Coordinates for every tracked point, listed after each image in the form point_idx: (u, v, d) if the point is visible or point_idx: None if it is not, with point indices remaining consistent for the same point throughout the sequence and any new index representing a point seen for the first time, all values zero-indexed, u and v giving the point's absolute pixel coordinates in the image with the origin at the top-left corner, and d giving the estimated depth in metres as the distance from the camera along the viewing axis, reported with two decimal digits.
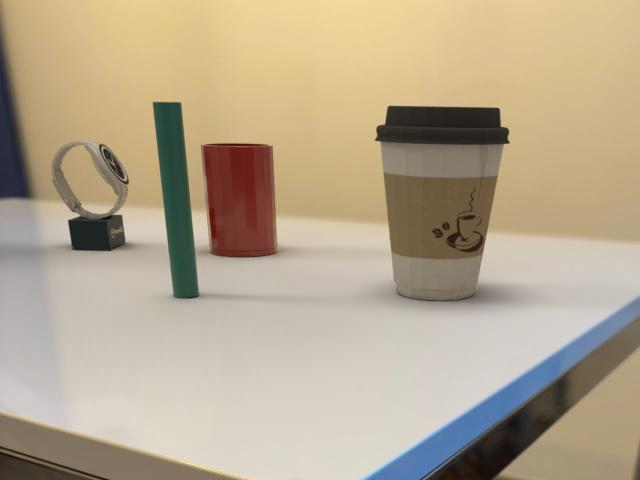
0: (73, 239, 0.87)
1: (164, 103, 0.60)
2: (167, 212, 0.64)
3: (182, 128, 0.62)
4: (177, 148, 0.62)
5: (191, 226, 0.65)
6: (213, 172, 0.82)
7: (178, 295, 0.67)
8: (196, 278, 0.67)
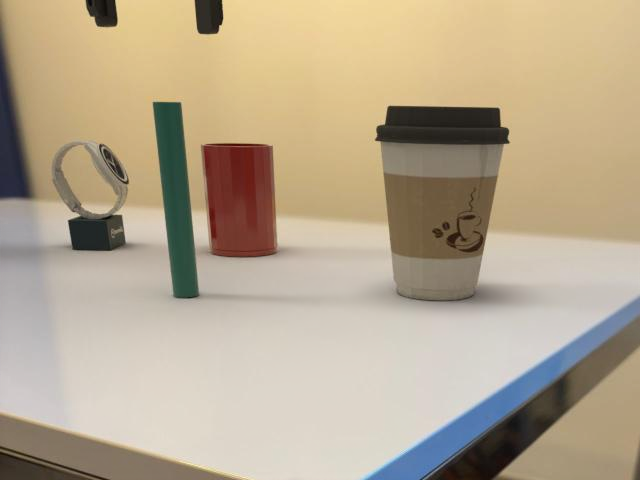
0: (73, 239, 0.87)
1: (164, 103, 0.60)
2: (167, 212, 0.64)
3: (182, 128, 0.62)
4: (177, 148, 0.62)
5: (191, 226, 0.65)
6: (213, 172, 0.82)
7: (178, 295, 0.67)
8: (196, 278, 0.67)
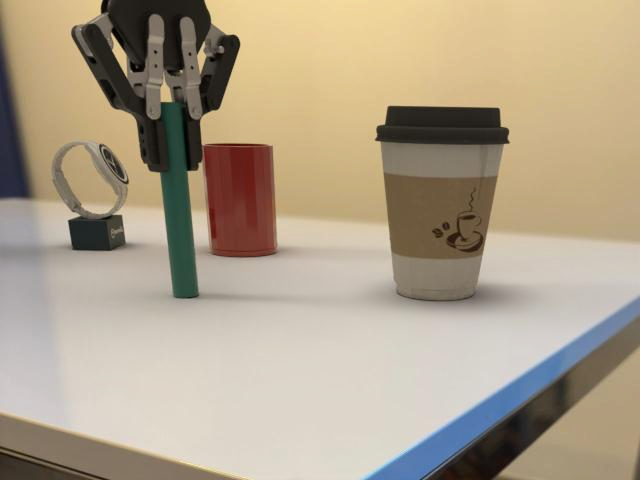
0: (73, 239, 0.87)
1: (164, 103, 0.60)
2: (167, 213, 0.64)
3: (182, 128, 0.62)
4: (177, 148, 0.62)
5: (191, 226, 0.65)
6: (213, 172, 0.82)
7: (178, 295, 0.67)
8: (196, 278, 0.67)
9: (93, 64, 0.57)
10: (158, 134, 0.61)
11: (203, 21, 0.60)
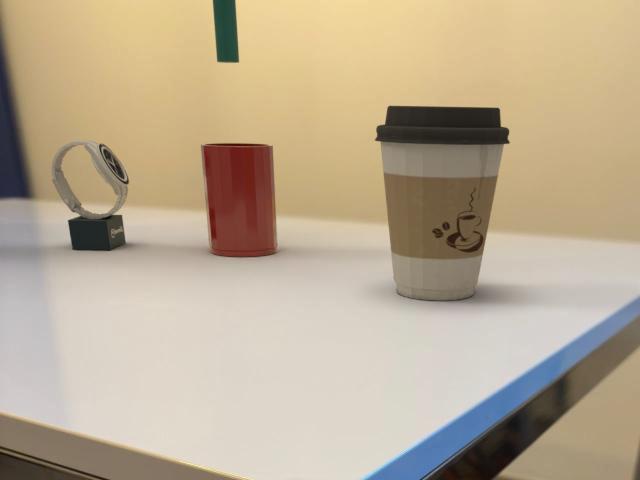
0: (73, 239, 0.87)
1: None
2: None
3: None
4: None
5: None
6: (213, 172, 0.82)
7: (221, 59, 0.78)
8: (237, 45, 0.78)
9: None
10: None
11: None
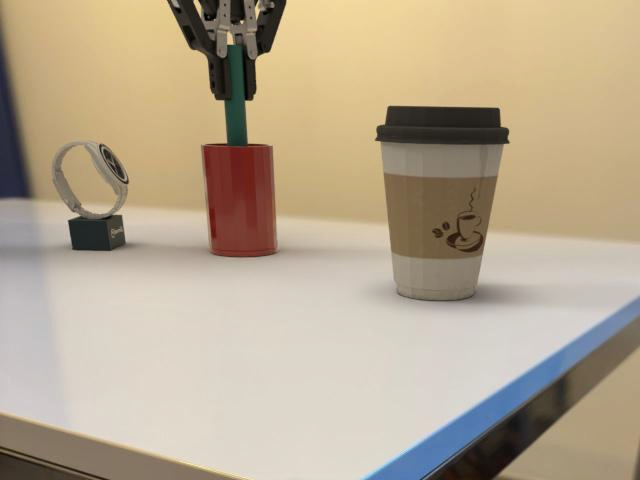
0: (73, 239, 0.87)
1: (229, 45, 0.79)
2: (229, 133, 0.82)
3: (242, 66, 0.80)
4: (238, 81, 0.80)
5: (247, 145, 0.84)
6: (213, 172, 0.82)
7: None
8: None
9: (178, 13, 0.75)
10: (224, 69, 0.79)
11: None
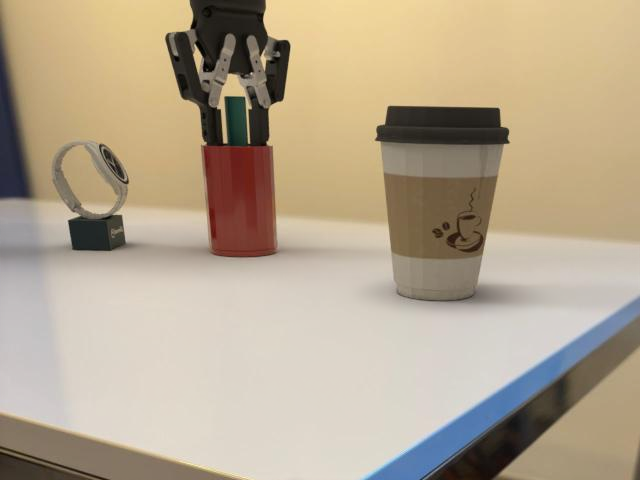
0: (73, 239, 0.87)
1: (233, 97, 0.81)
2: None
3: (245, 116, 0.82)
4: (242, 131, 0.82)
5: None
6: (213, 172, 0.82)
7: None
8: None
9: (176, 61, 0.77)
10: (216, 119, 0.80)
11: (262, 38, 0.80)
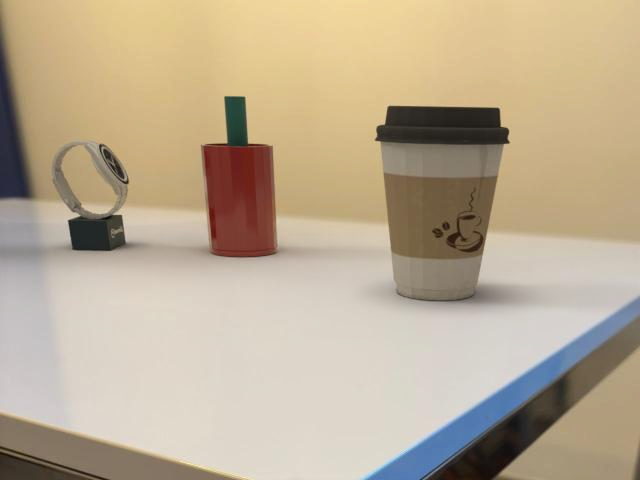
0: (73, 239, 0.87)
1: (233, 97, 0.81)
2: None
3: (245, 116, 0.82)
4: (242, 131, 0.82)
5: None
6: (213, 172, 0.82)
7: None
8: None
9: None
10: None
11: None
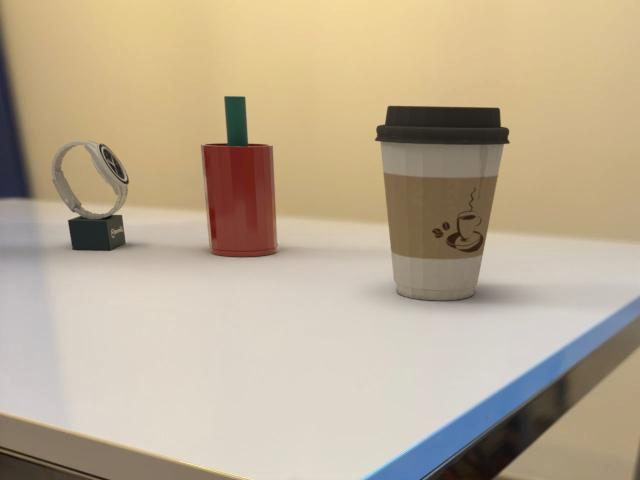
0: (73, 239, 0.87)
1: (233, 97, 0.81)
2: None
3: (245, 116, 0.82)
4: (242, 131, 0.82)
5: None
6: (213, 172, 0.82)
7: None
8: None
9: None
10: None
11: None
